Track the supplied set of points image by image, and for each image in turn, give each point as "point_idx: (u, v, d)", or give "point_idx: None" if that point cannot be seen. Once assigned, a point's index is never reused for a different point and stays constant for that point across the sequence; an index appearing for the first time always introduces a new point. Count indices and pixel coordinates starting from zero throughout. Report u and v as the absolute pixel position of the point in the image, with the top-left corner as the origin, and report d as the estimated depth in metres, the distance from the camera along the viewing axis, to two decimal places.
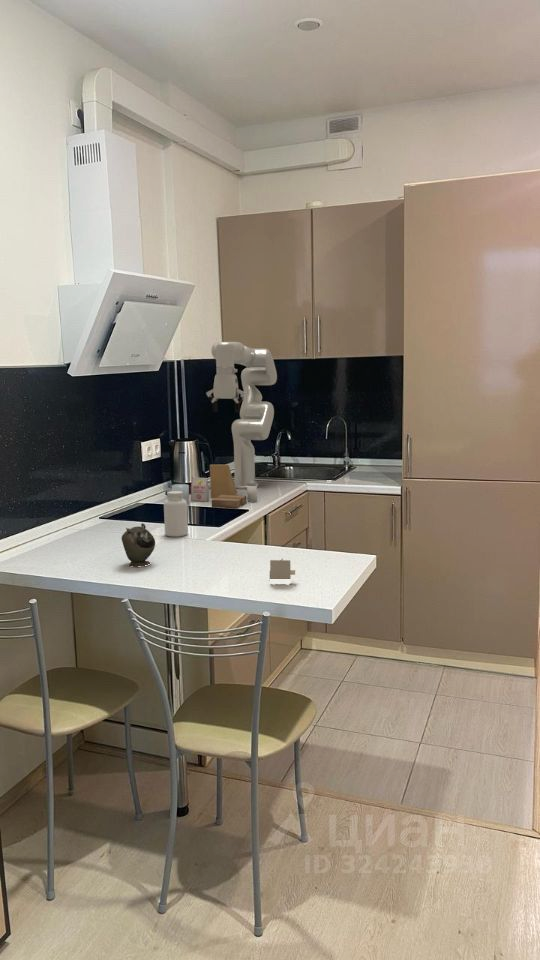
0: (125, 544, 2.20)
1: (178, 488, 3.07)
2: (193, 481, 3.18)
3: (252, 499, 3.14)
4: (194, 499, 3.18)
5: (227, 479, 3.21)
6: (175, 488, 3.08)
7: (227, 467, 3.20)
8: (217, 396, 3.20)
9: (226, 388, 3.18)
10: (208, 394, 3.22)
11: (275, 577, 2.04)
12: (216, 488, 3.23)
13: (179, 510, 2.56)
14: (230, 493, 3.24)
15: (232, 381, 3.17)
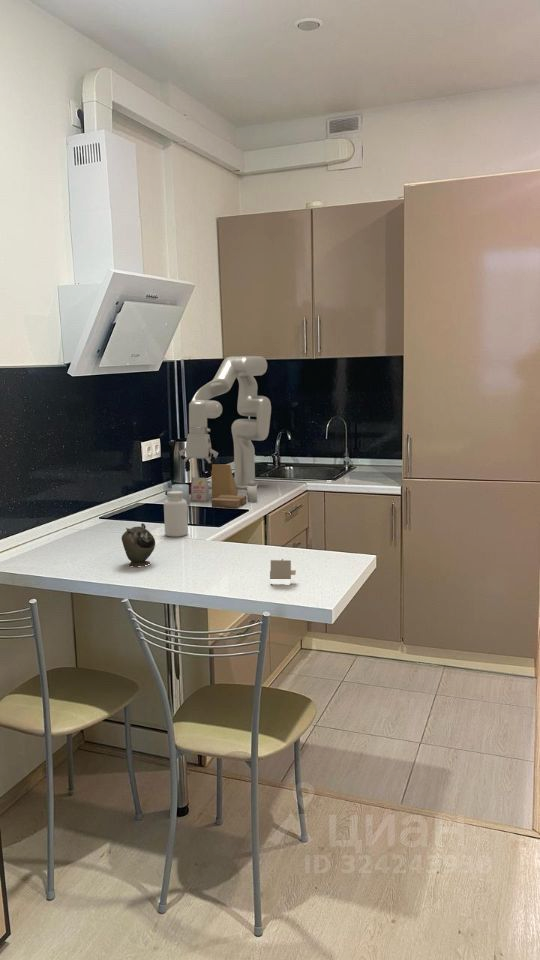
0: (125, 544, 2.20)
1: (178, 488, 3.07)
2: (193, 481, 3.18)
3: (252, 499, 3.14)
4: (194, 499, 3.18)
5: (228, 479, 3.22)
6: (175, 488, 3.08)
7: (228, 467, 3.21)
8: (189, 456, 3.14)
9: (198, 448, 3.12)
10: (180, 453, 3.17)
11: (275, 577, 2.04)
12: (217, 487, 3.23)
13: (179, 510, 2.56)
14: (231, 493, 3.25)
15: (205, 441, 3.11)
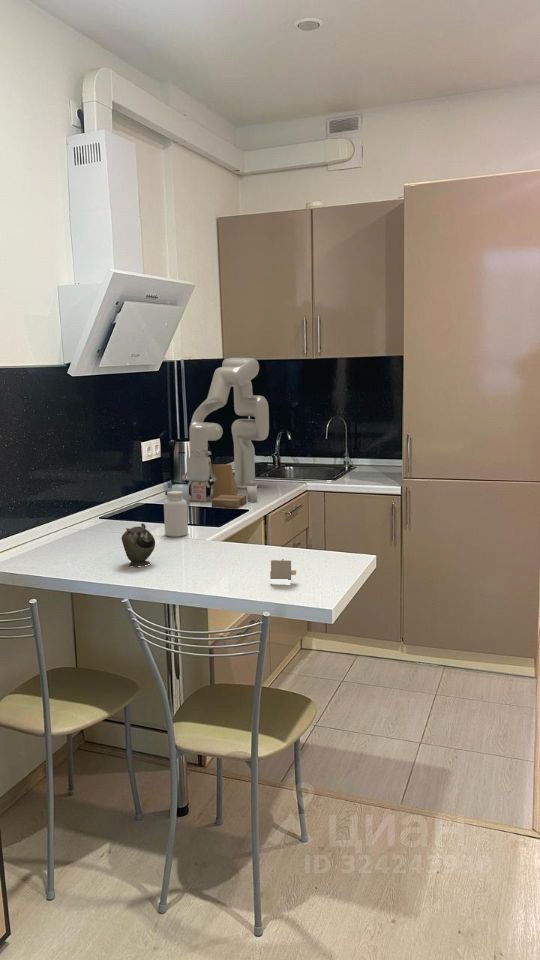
0: (125, 544, 2.20)
1: (178, 488, 3.07)
2: (193, 481, 3.18)
3: (252, 499, 3.14)
4: (194, 499, 3.18)
5: (229, 479, 3.22)
6: (175, 488, 3.08)
7: (230, 467, 3.21)
8: (190, 478, 3.16)
9: (199, 471, 3.14)
10: (183, 478, 3.19)
11: (276, 577, 2.04)
12: (218, 487, 3.24)
13: (179, 510, 2.56)
14: (232, 493, 3.25)
15: (205, 464, 3.13)
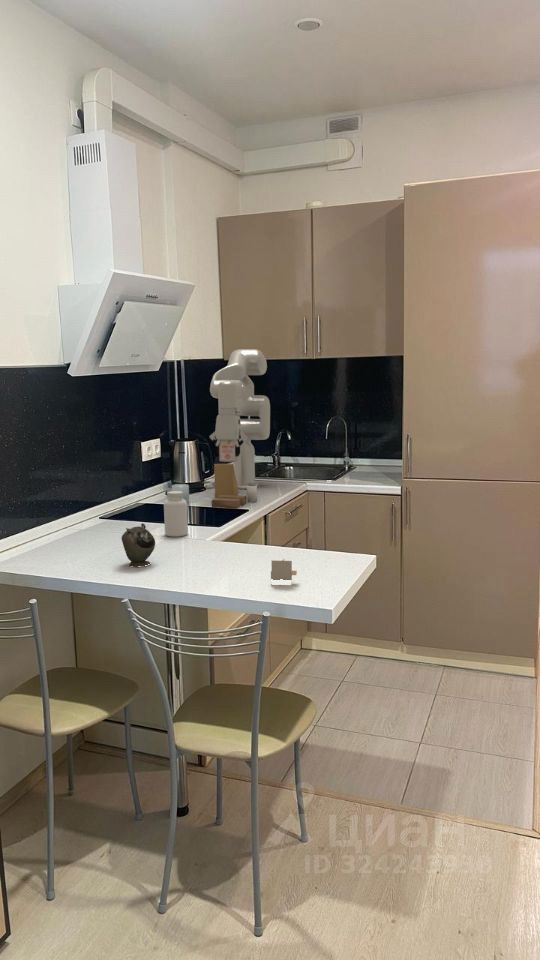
0: (125, 544, 2.20)
1: (178, 488, 3.07)
2: (221, 440, 3.05)
3: (252, 499, 3.14)
4: (223, 459, 3.05)
5: (232, 478, 3.23)
6: (175, 488, 3.08)
7: (232, 466, 3.22)
8: (219, 437, 3.04)
9: (228, 430, 3.02)
10: (211, 437, 3.07)
11: (276, 577, 2.04)
12: (220, 487, 3.24)
13: (179, 510, 2.56)
14: (234, 492, 3.26)
15: (235, 422, 3.01)
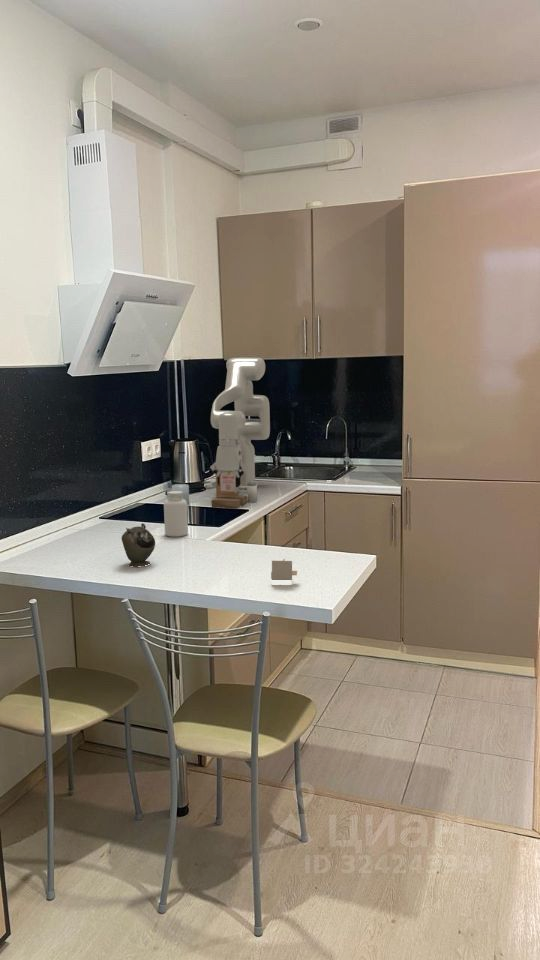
0: (125, 544, 2.20)
1: (178, 488, 3.07)
2: (222, 471, 3.08)
3: (252, 499, 3.14)
4: (223, 490, 3.08)
5: None
6: (175, 488, 3.08)
7: None
8: (220, 468, 3.06)
9: (229, 461, 3.04)
10: (212, 468, 3.09)
11: (277, 577, 2.04)
12: None
13: (179, 510, 2.56)
14: None
15: (235, 453, 3.03)
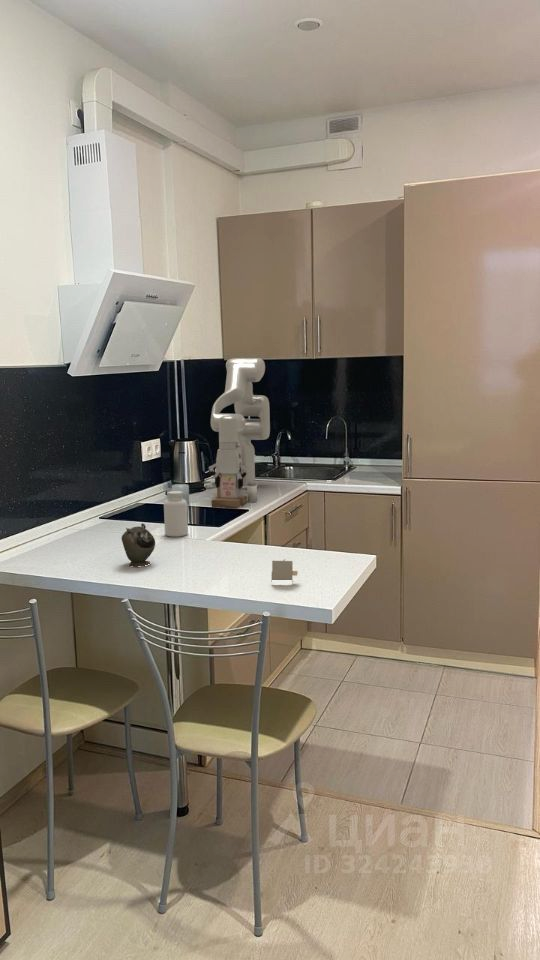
0: (125, 544, 2.20)
1: (178, 488, 3.07)
2: (222, 477, 3.08)
3: (252, 499, 3.14)
4: (223, 496, 3.08)
5: None
6: (175, 488, 3.08)
7: None
8: (220, 471, 3.07)
9: (229, 464, 3.05)
10: (210, 469, 3.09)
11: (277, 578, 2.04)
12: None
13: (179, 510, 2.56)
14: None
15: (235, 456, 3.04)
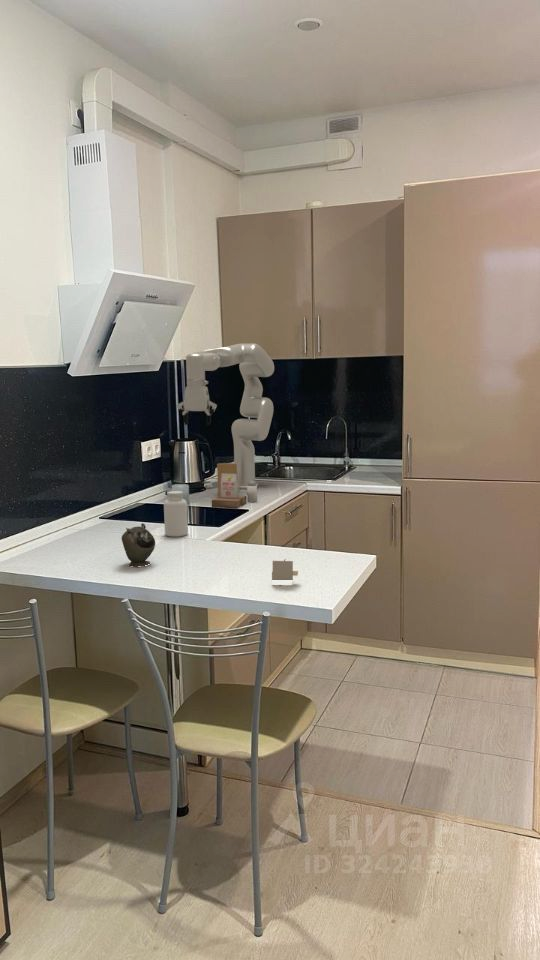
0: (125, 544, 2.20)
1: (178, 488, 3.07)
2: (222, 477, 3.08)
3: (252, 499, 3.14)
4: (223, 496, 3.08)
5: None
6: (175, 488, 3.08)
7: (235, 466, 3.24)
8: (188, 408, 3.14)
9: (197, 401, 3.12)
10: (179, 406, 3.16)
11: (277, 578, 2.04)
12: None
13: (179, 510, 2.56)
14: None
15: (203, 393, 3.11)
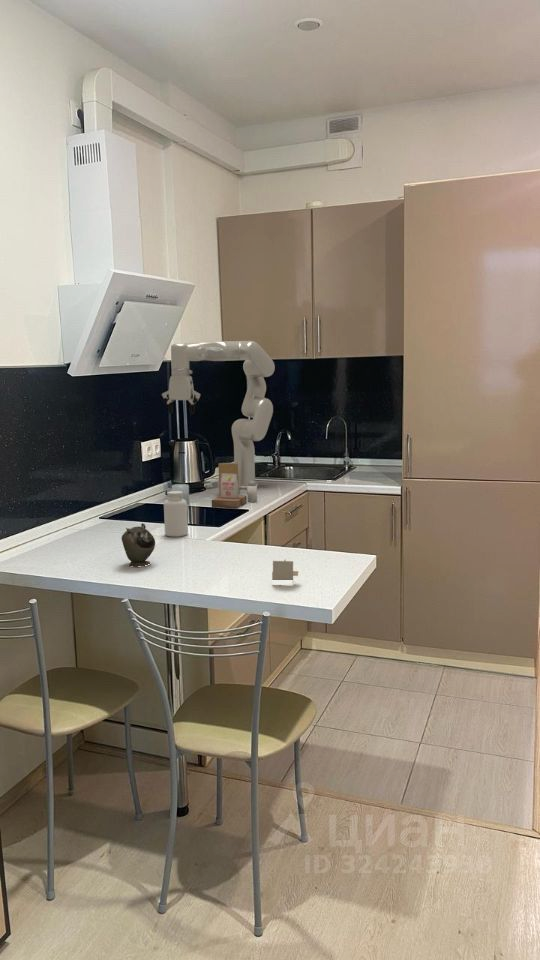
0: (125, 544, 2.20)
1: (178, 488, 3.07)
2: (222, 477, 3.08)
3: (252, 499, 3.14)
4: (223, 496, 3.08)
5: None
6: (175, 488, 3.08)
7: (236, 465, 3.25)
8: (172, 397, 3.19)
9: (180, 390, 3.17)
10: (164, 395, 3.22)
11: (278, 578, 2.04)
12: None
13: (179, 510, 2.56)
14: (238, 491, 3.29)
15: (187, 382, 3.16)
